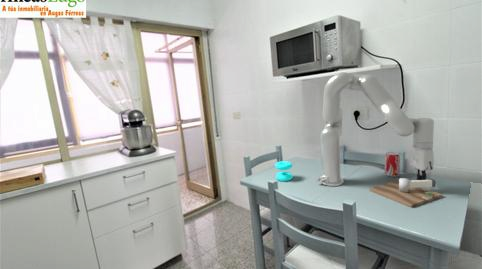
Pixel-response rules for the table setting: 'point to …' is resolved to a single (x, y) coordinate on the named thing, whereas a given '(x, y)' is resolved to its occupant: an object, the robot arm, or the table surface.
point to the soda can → (392, 164)
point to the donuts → (284, 175)
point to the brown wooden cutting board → (405, 194)
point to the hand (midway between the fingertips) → (421, 182)
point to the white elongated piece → (414, 184)
